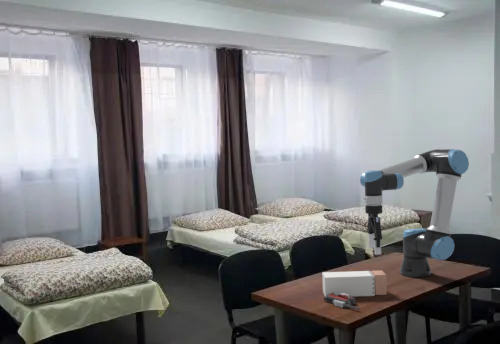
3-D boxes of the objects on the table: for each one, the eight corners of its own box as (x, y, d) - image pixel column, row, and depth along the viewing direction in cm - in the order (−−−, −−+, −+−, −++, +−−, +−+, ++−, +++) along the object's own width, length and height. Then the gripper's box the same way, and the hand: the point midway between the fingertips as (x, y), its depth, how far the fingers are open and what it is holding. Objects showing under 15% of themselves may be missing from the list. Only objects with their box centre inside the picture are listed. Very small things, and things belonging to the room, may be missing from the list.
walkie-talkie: (320, 302, 225) (358, 313, 210) (320, 292, 224) (357, 302, 209) (333, 298, 230) (370, 308, 216) (332, 288, 230) (370, 297, 215)
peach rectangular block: (382, 289, 239) (381, 270, 238) (386, 294, 231) (386, 274, 230) (371, 289, 239) (371, 270, 238) (375, 294, 231) (375, 275, 230)
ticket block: (370, 289, 239) (369, 270, 239) (374, 295, 230) (374, 275, 230) (322, 291, 239) (322, 272, 239) (325, 297, 230) (325, 277, 230)
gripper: (360, 201, 246) (361, 245, 247) (371, 208, 221) (372, 257, 222) (376, 201, 245) (377, 245, 247) (388, 208, 221) (389, 257, 222)
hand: (374, 251), depth 235 cm, fingers open, 13 cm apart
